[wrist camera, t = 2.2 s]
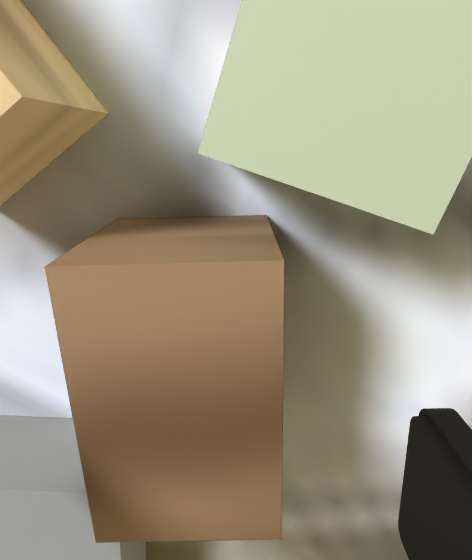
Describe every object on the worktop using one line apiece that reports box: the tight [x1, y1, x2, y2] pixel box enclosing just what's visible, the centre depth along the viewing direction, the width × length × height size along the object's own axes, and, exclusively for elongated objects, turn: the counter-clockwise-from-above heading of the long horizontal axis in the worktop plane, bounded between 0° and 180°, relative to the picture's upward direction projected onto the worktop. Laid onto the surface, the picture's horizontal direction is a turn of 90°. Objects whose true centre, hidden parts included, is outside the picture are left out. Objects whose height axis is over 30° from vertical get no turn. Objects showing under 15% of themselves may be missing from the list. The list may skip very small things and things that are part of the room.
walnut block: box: [45, 215, 284, 543], centre depth 11 cm, size 7×4×5 cm, turn 2°
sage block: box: [198, 0, 472, 234], centre depth 9 cm, size 7×4×5 cm, turn 162°
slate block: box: [0, 415, 146, 560], centre depth 15 cm, size 9×7×4 cm
